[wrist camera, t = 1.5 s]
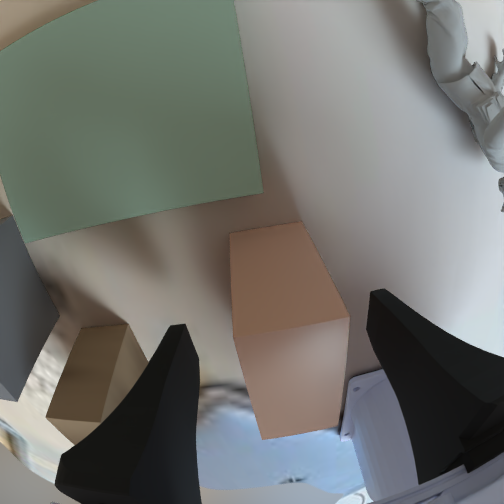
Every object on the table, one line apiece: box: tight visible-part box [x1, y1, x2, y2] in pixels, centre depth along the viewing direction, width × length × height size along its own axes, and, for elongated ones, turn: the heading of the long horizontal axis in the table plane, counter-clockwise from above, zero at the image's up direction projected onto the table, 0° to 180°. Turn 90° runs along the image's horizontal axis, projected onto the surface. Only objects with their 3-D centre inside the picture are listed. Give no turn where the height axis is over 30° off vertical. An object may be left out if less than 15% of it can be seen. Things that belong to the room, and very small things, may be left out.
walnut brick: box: [46, 324, 149, 445], centre depth 14 cm, size 6×3×6 cm, turn 8°
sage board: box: [0, 0, 264, 243], centre depth 9 cm, size 8×10×2 cm
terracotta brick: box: [229, 221, 350, 440], centre depth 12 cm, size 6×3×6 cm, turn 8°
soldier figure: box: [416, 0, 504, 212], centre depth 8 cm, size 8×5×12 cm
